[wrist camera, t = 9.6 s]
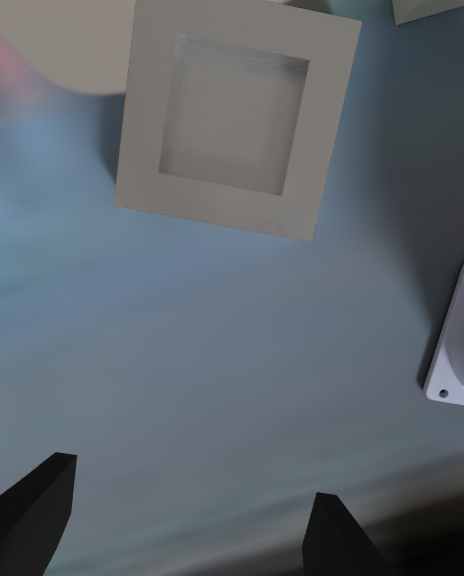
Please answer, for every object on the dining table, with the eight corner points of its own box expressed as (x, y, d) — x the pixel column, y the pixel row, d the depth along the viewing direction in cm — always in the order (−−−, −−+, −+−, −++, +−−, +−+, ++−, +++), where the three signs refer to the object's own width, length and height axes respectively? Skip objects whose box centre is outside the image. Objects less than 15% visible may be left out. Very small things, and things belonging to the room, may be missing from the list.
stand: (344, 44, 18) (362, 21, 16) (301, 236, 20) (311, 242, 18) (151, 4, 18) (138, -26, 15) (127, 204, 20) (113, 206, 17)
